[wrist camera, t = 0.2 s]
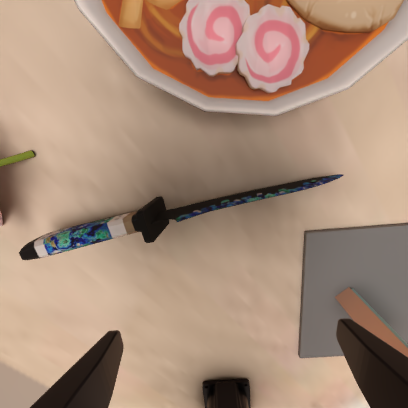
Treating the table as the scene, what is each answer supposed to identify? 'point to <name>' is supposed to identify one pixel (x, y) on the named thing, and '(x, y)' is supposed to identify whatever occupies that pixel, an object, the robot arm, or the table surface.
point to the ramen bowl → (250, 47)
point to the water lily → (12, 160)
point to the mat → (352, 281)
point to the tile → (370, 319)
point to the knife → (150, 220)
